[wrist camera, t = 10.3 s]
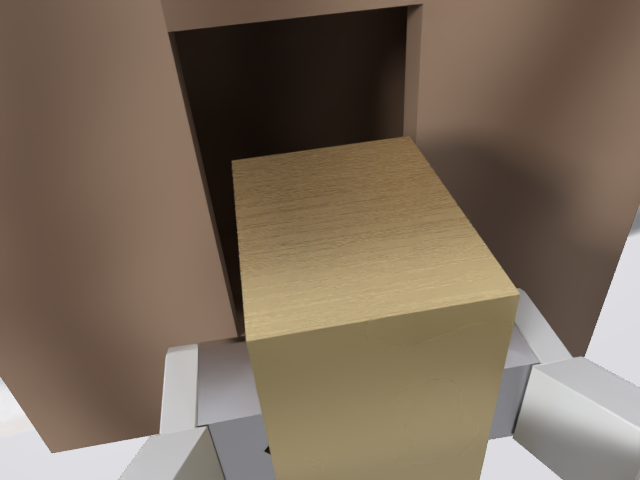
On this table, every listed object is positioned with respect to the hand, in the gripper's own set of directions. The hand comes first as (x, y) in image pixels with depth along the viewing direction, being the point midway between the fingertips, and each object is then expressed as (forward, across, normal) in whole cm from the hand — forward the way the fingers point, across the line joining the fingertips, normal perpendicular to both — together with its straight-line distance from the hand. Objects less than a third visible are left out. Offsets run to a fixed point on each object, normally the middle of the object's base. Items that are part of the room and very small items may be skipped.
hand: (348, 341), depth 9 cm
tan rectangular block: (+2, 0, 0) cm, 2 cm away
